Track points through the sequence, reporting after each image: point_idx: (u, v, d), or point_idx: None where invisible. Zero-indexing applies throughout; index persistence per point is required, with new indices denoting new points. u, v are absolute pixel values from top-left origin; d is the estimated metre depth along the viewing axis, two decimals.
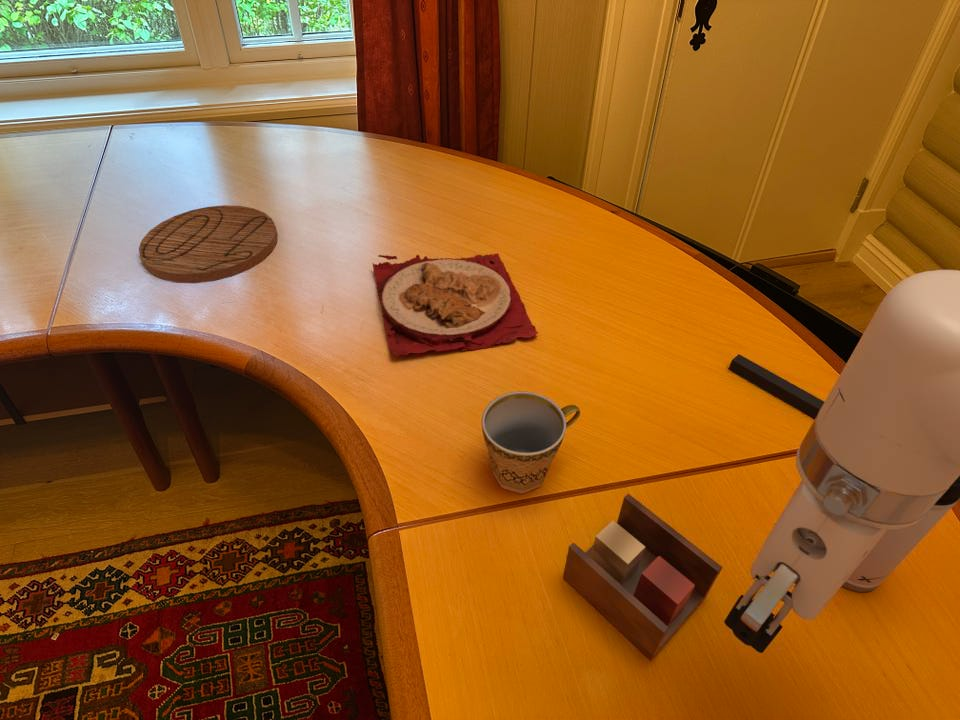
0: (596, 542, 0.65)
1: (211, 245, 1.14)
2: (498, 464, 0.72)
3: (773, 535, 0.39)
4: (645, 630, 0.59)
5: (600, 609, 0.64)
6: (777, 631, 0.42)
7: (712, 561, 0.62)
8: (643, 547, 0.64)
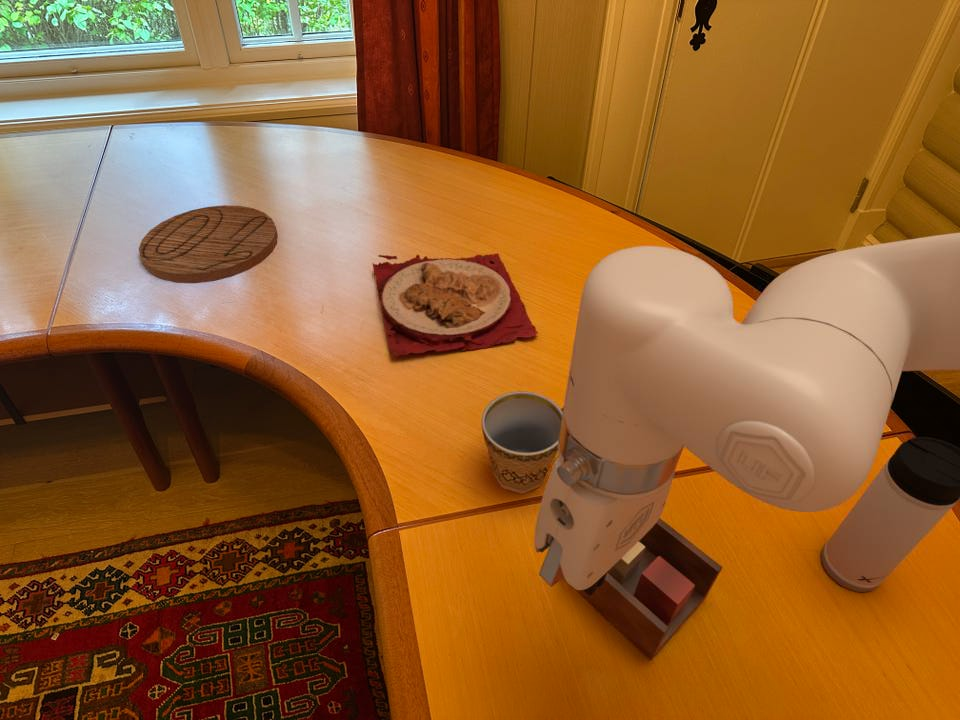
0: None
1: (211, 245, 1.14)
2: (498, 464, 0.72)
3: (540, 507, 0.40)
4: (645, 630, 0.59)
5: (600, 609, 0.64)
6: None
7: (712, 561, 0.62)
8: (643, 547, 0.64)
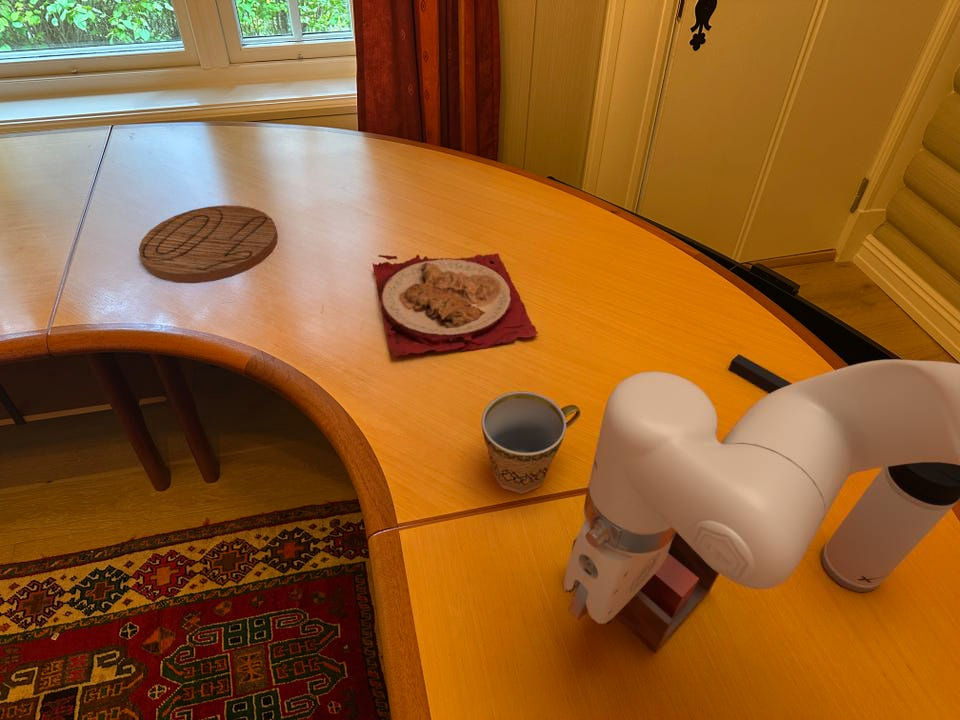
0: None
1: (211, 245, 1.14)
2: (498, 464, 0.72)
3: (570, 559, 0.51)
4: (649, 623, 0.59)
5: None
6: None
7: None
8: None
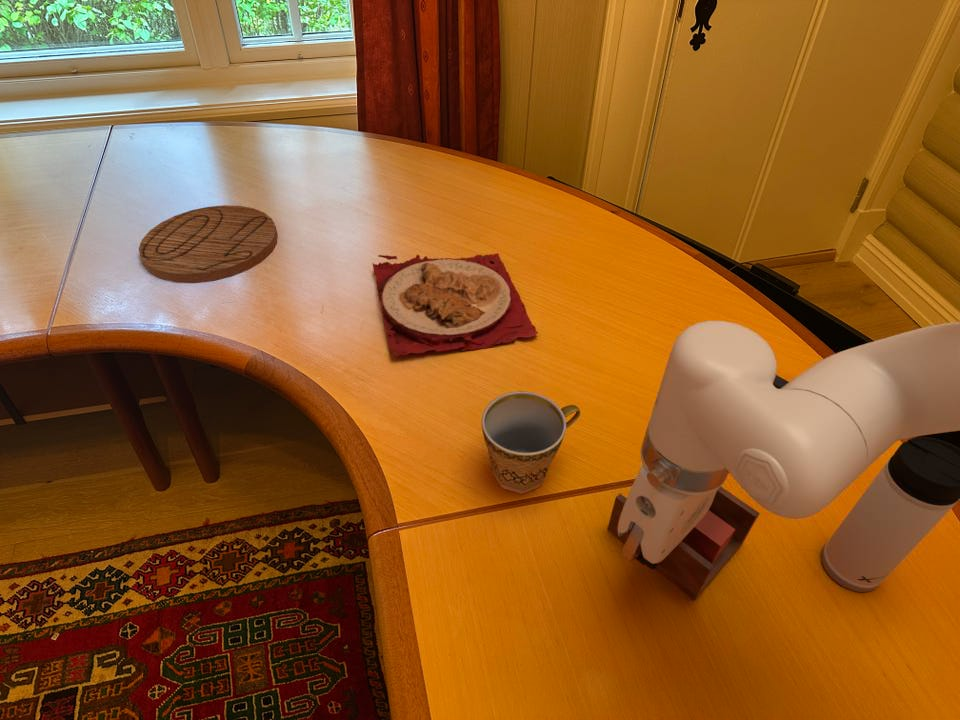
0: None
1: (211, 245, 1.14)
2: (498, 464, 0.72)
3: (626, 502, 0.55)
4: (690, 570, 0.64)
5: None
6: None
7: (750, 508, 0.67)
8: None
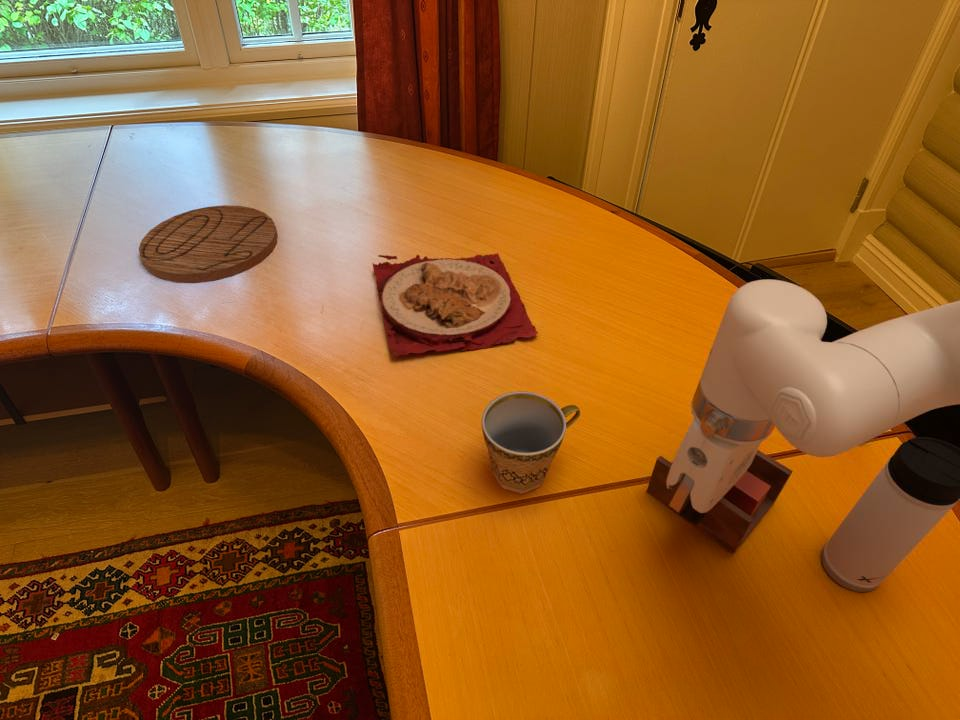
0: None
1: (211, 245, 1.14)
2: (498, 464, 0.72)
3: (677, 455, 0.59)
4: (730, 524, 0.68)
5: None
6: None
7: (783, 466, 0.71)
8: None
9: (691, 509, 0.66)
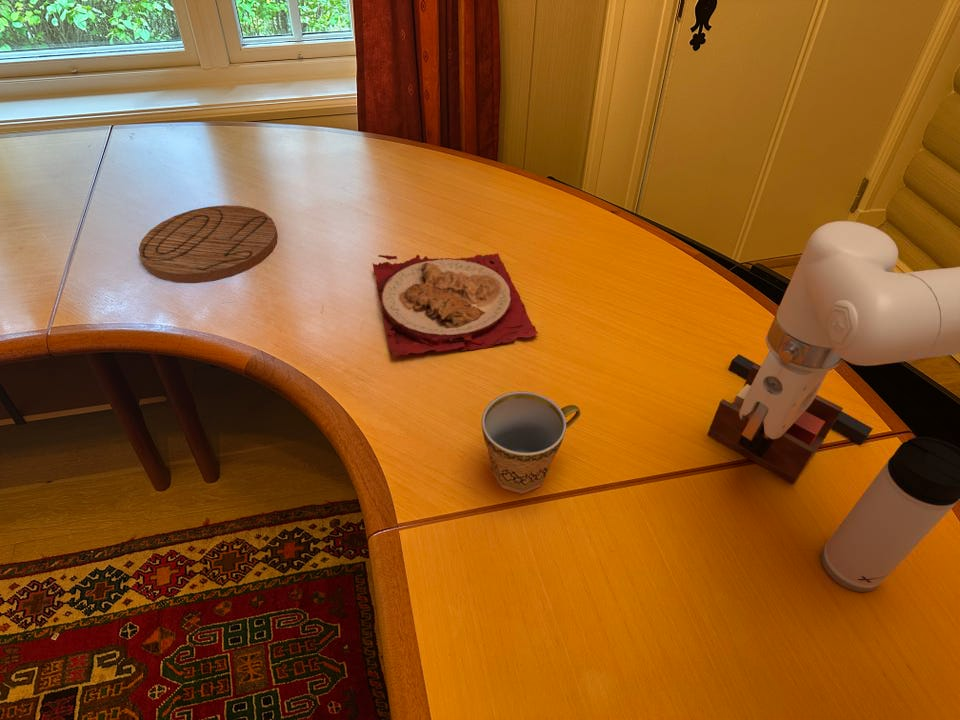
0: (737, 400, 0.81)
1: (211, 245, 1.14)
2: (498, 464, 0.72)
3: (752, 385, 0.66)
4: (792, 456, 0.75)
5: (745, 452, 0.80)
6: (771, 438, 0.72)
7: (834, 404, 0.78)
8: None
9: (758, 441, 0.73)
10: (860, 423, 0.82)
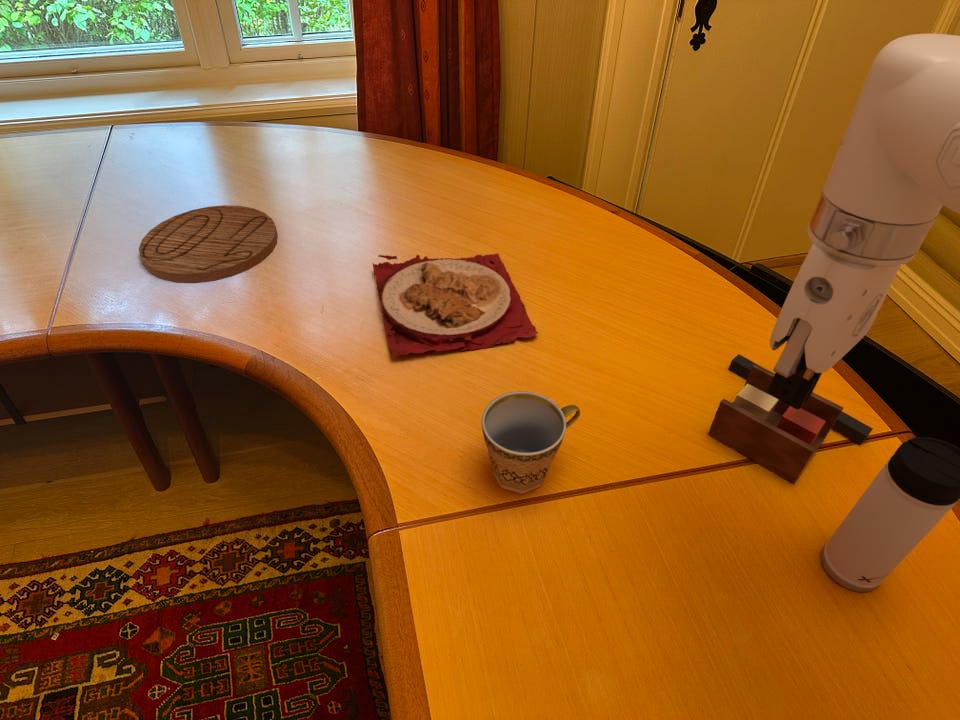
0: (737, 400, 0.81)
1: (211, 245, 1.14)
2: (498, 464, 0.72)
3: (788, 296, 0.48)
4: (793, 456, 0.75)
5: (745, 452, 0.80)
6: (812, 379, 0.53)
7: (834, 404, 0.78)
8: (777, 400, 0.80)
9: (795, 385, 0.54)
10: (860, 423, 0.82)
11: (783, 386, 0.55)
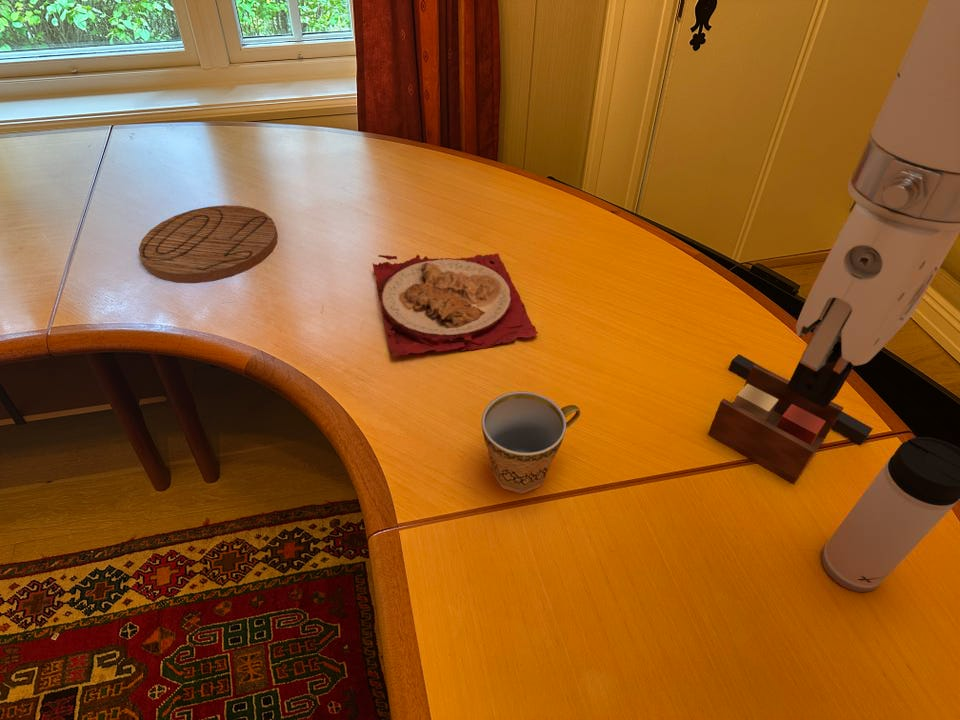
0: (737, 400, 0.81)
1: (211, 245, 1.14)
2: (498, 464, 0.72)
3: (823, 270, 0.38)
4: (793, 456, 0.75)
5: (745, 452, 0.80)
6: (844, 373, 0.44)
7: (834, 404, 0.78)
8: (777, 400, 0.80)
9: (823, 380, 0.45)
10: (860, 423, 0.82)
11: (807, 380, 0.46)
